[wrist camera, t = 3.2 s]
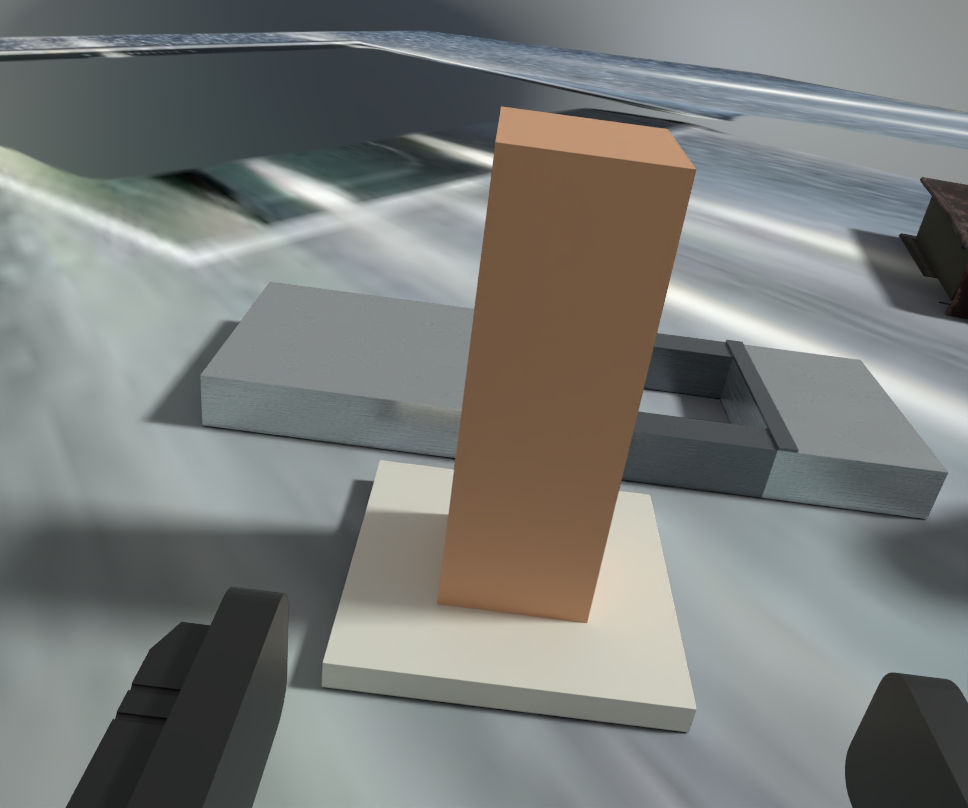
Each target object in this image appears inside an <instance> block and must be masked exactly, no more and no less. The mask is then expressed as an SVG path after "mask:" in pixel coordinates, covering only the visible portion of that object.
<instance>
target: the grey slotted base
mask: <svg viewBox="0 0 968 808" xmlns="http://www.w3.org/2000/svg"><path fill="white" fill-rule="evenodd" d="M473 316H474V309H471V308H463V307H456V306H448V305H440V304H433V303H425V302H418V301H410V300H403V299H395V298H388V297H380V296H372V295H365V294H357V293H350V292H342V291H335V290H327V289H320V288H312V287H305V286H297V285H289V284H282V283H274V282H270V283H269V284H268V285H267V287H266V288H265V289H264V291H263V292H262V293H261V295H260V296H259V297H258V299H257V300H256V301H255V303H254V304H253V305H252V307H251V308H250V309H249V311H248V312H247V313H246V315H245V316H244V317H243V319H242V320H241V321H240V323H239V324H238V325H237V327H236V328H235V329H234V331H233V332H232V333H231V335H230V336H229V337H228V339H227V340H226V341H225V343H224V344H223V345H222V347H221V348H220V349H219V351H218V352H217V353H216V355H215V356H214V358H213V359H212V360H211V362H210V363H209V364H208V366H207V367H206V368H205V370H204V371H203V372H202V374H201V375H200V380H201V404H202V425H203V426H211V427H219V428H226V429H234V430H242V431H250V432H257V433H265V434H273V435H281V436H288V437H296V438H304V439H312V440H319V441H327V442H335V443H343V444H350V445H358V446H366V447H374V448H381V449H389V450H397V451H404V452H412V453H420V454H428V455H435V456H443V457H451V458H456V451H457V443H458V435H459V427H460V419H461V411H462V403H463V395H464V387H465V380H466V372H467V364H468V356H469V348H470V340H471V332H472V324H473ZM644 388H645V389H653V390H661V391H668V392H676V393H684V394H691V395H699V396H706V397H714V398H721V400H722V403H723V405H724V407H725V410H726V412H727V415H728V417H729V420H730V422H731V424H729V423H721V422H713V421H706V420H698V419H690V418H683V417H675V416H667V415H660V414H652V413H644V412H638V414H637V418H636V422H635V426H634V431H633V435H632V439H631V443H630V447H629V451H628V456H627V460H626V464H625V468H624V472H623V476H622V480H629V481H637V482H644V483H652V484H660V485H668V486H675V487H683V488H691V489H698V490H706V491H714V492H722V493H729V494H737V495H745V496H753V497H760V498H768V499H776V500H784V501H791V502H799V503H807V504H815V505H822V506H830V507H838V508H846V509H853V510H861V511H869V512H876V513H884V514H892V515H900V516H907V517H915V518H923V519H927V518H928V516H929V514H930V511H931V509H932V507H933V505H934V503H935V501H936V498H937V496H938V494H939V492H940V490H941V487H942V485H943V483H944V481H945V479H946V477H947V474H948V472H947V470H946V469H945V468H944V466H943V465H942V464H941V463H940V461H939V460H938V459H937V457H936V456H935V455H934V454H933V452H932V451H931V450H930V448H929V447H928V446H927V445H926V443H925V442H924V441H923V439H922V438H921V437H920V436H919V434H918V433H917V432H916V431H915V429H914V428H913V427H912V425H911V424H910V423H909V422H908V420H907V419H906V418H905V416H904V415H903V414H902V413H901V411H900V410H899V409H898V407H897V406H896V405H895V404H894V402H893V401H892V400H891V398H890V397H889V396H888V395H887V393H886V392H885V391H884V389H883V388H882V387H881V386H880V384H879V383H878V382H877V380H876V379H875V378H874V377H873V375H872V374H871V373H870V371H869V370H868V369H867V368H866V366H865V365H864V364H863V362H862V361H861V360H856V359H848V358H841V357H833V356H825V355H818V354H810V353H803V352H795V351H788V350H780V349H773V348H765V347H757V346H750V345H744V344H743V342H739V341H732V340H726V342H720V341H712V340H705V339H697V338H690V337H682V336H674V335H667V334H659V333H657V335H656V339H655V343H654V347H653V352H652V356H651V360H650V364H649V368H648V372H647V377H646V381H645V385H644Z"/></svg>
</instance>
